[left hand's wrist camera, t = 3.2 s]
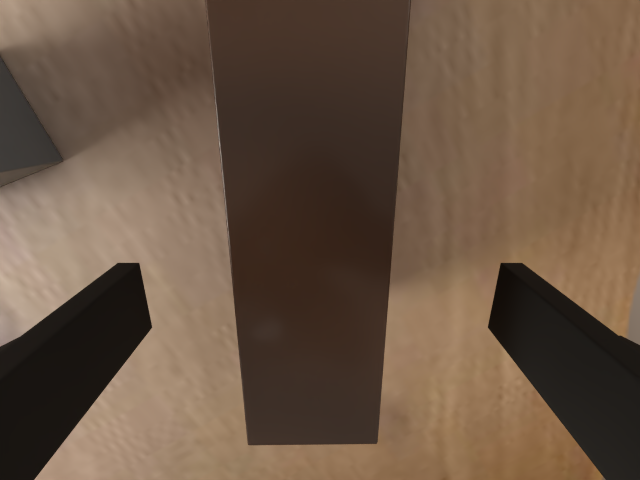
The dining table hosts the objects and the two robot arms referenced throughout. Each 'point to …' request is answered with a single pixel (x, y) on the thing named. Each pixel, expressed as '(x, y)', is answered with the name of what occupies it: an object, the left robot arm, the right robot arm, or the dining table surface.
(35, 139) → the grey cube
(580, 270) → the dining table surface
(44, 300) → the dining table surface
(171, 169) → the dining table surface
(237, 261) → the walnut block
